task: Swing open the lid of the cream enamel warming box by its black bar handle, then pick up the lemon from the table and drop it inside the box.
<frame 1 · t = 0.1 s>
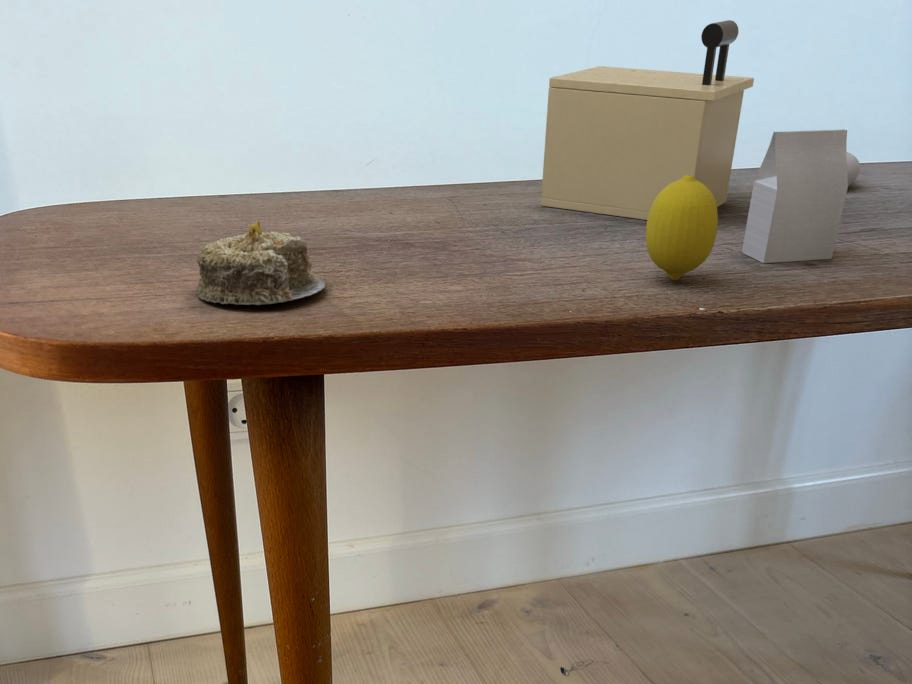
oven box: (634, 203, 109), on the table
donut: (809, 185, 119), on the table
oven lid: (655, 53, 101), point 14 cm above the table, hinge at 0.0°
lemon: (673, 282, 86), on the table
cake: (261, 294, 81), on the table
grey upright tapered block: (786, 257, 93), on the table
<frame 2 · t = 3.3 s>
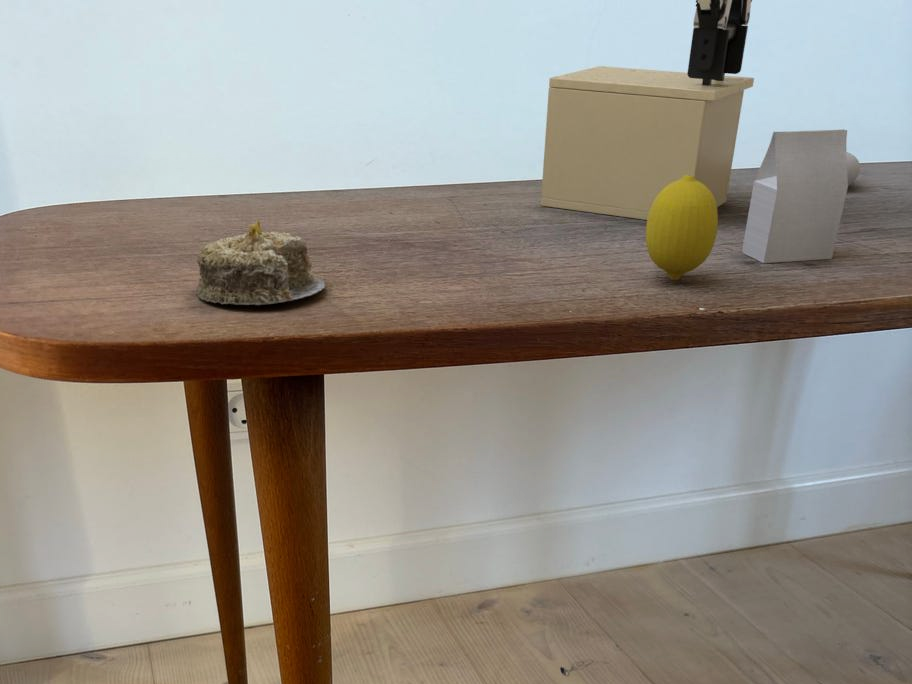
hand: (714, 73, 100), 12 cm above the table, tool pointing down, fingers closed on oven lid, 5 cm apart
oven lid: (655, 53, 101), point 14 cm above the table, hinge at 0.0°, touching gripper
everything else where it was.
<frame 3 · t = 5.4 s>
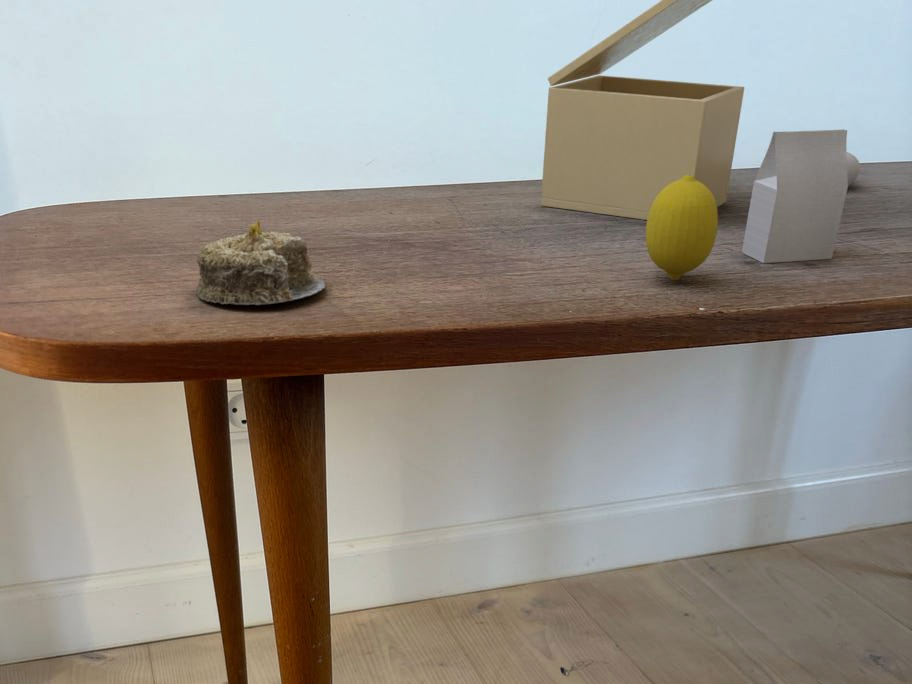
oven lid: (634, 2, 100), point 18 cm above the table, hinge at 33.1°, touching gripper
everything else where it was.
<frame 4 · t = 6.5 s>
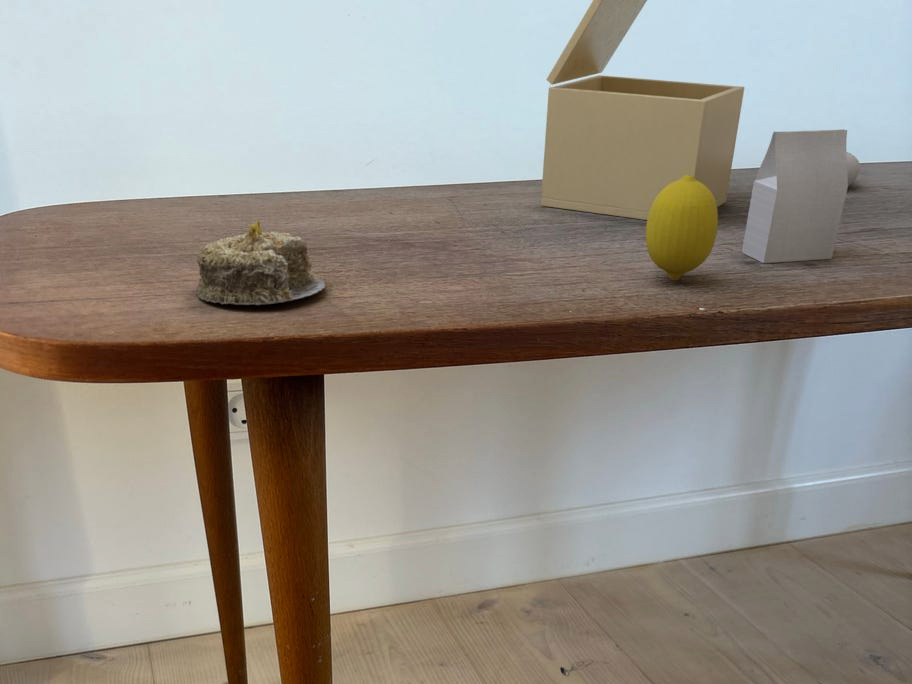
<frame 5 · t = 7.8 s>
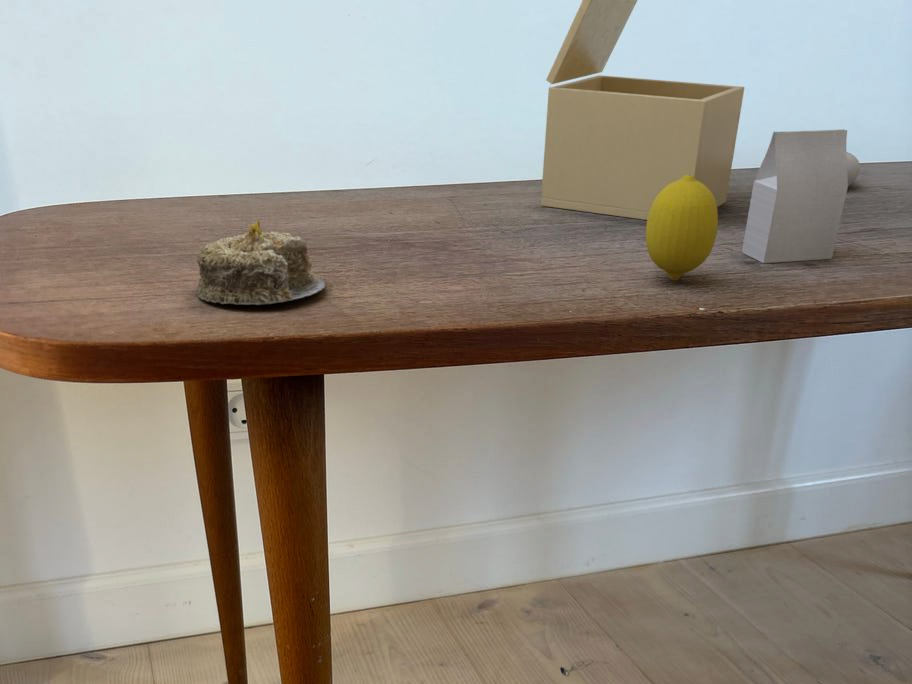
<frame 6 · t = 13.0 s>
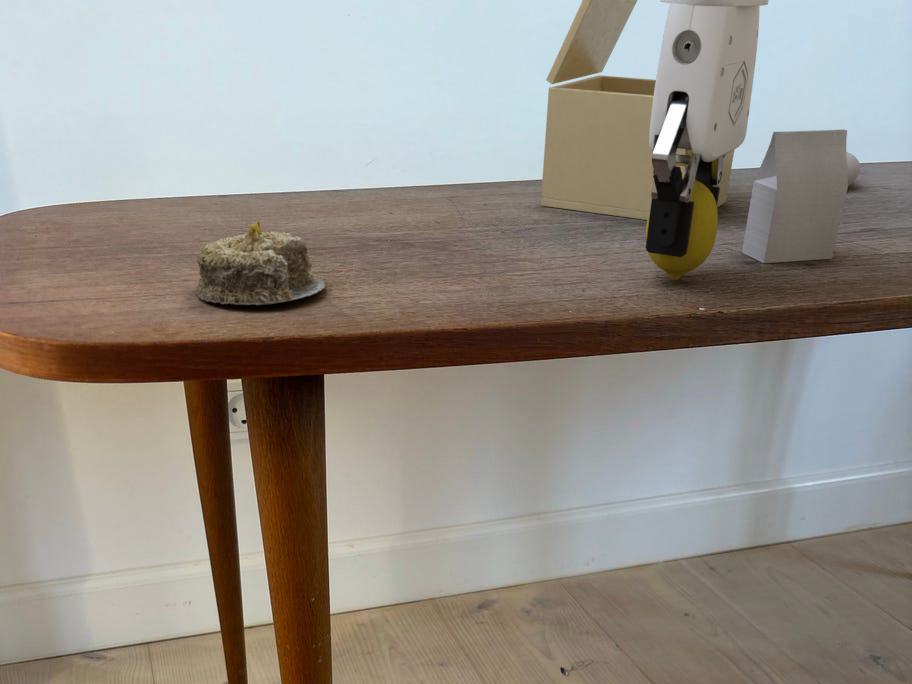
hand: (679, 242, 84), 3 cm above the table, tool pointing down, fingers closed on lemon, 5 cm apart
lemon: (673, 282, 86), on the table, touching gripper
when the fingers open (13 cm above the table, at t = 19.7 s): lemon drops 9 cm, resting on oven box.
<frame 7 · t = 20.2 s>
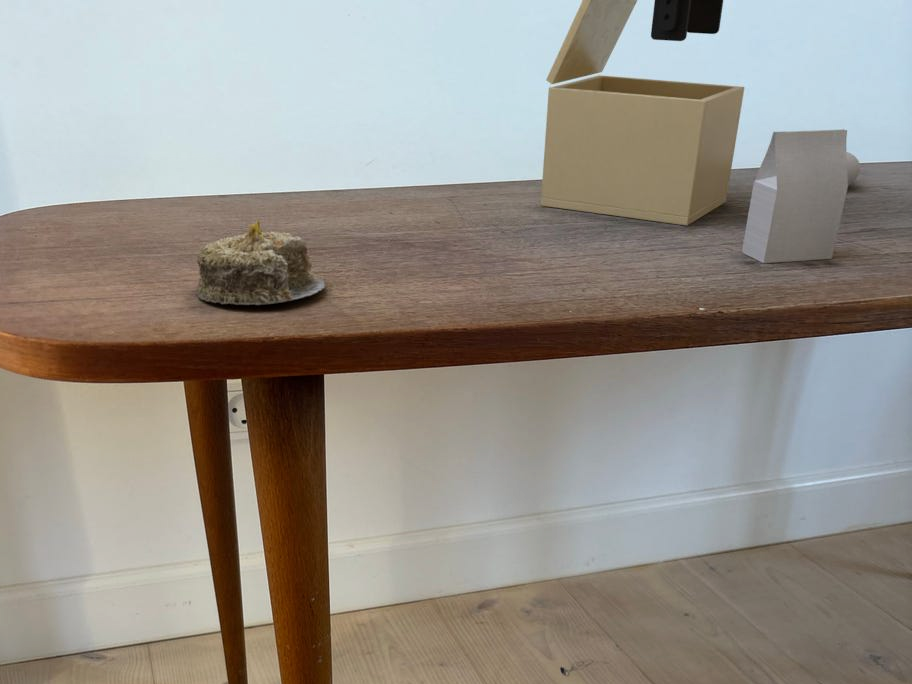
hand: (685, 36, 99), 15 cm above the table, tool pointing down, fingers open, 9 cm apart
lemon: (664, 193, 107), point 1 cm above the table, touching oven box
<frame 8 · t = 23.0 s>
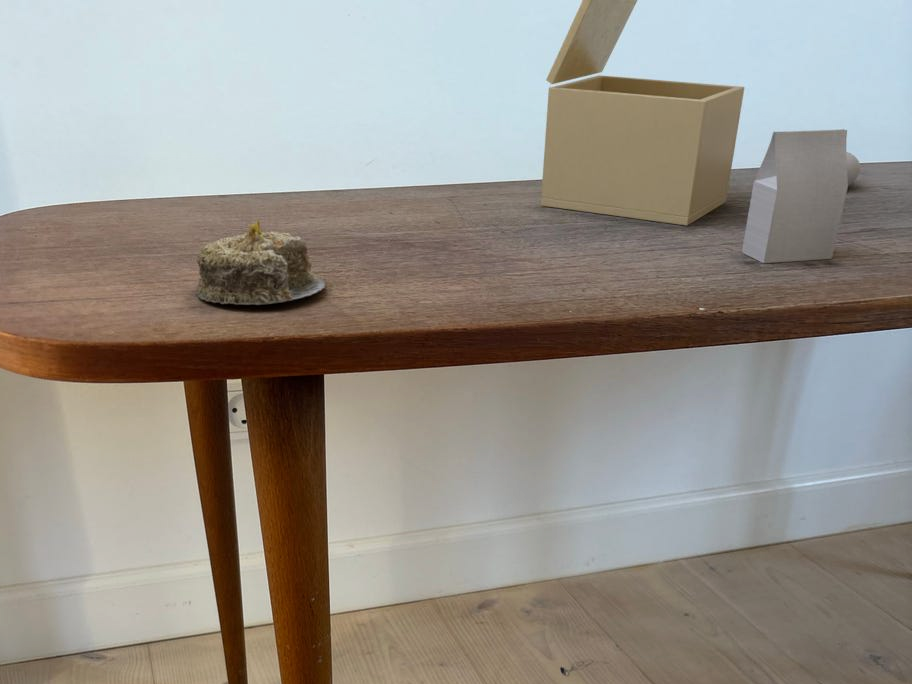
at the end: oven lid at +65° (first picture: +0°); lemon inside the target area in the oven box (3.1 cm from its centre), point 1.4 cm above the oven box's base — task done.
